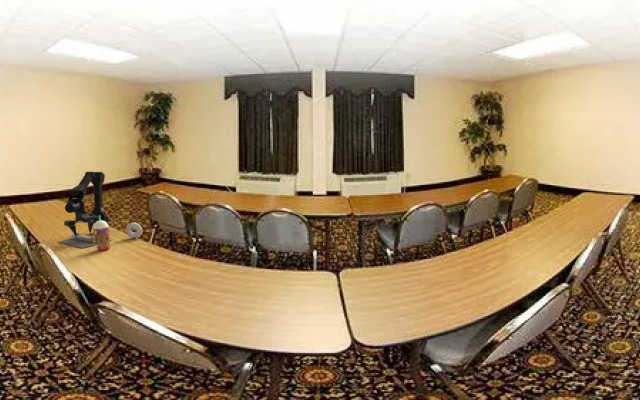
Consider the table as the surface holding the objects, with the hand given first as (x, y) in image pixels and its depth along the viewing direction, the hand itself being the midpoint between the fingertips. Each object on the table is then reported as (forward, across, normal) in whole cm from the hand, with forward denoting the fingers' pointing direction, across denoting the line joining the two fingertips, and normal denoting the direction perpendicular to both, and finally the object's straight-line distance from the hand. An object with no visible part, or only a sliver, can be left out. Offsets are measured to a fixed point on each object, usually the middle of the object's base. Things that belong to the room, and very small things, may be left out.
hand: (83, 234), depth 296 cm
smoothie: (+4, -5, -29) cm, 30 cm away
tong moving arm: (+4, -1, -4) cm, 5 cm away
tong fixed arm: (+4, 0, -1) cm, 4 cm away
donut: (+5, +19, -24) cm, 31 cm away
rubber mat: (+4, -1, -2) cm, 5 cm away
